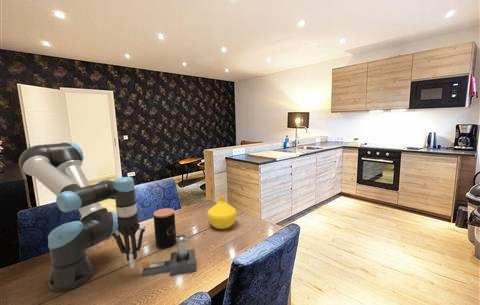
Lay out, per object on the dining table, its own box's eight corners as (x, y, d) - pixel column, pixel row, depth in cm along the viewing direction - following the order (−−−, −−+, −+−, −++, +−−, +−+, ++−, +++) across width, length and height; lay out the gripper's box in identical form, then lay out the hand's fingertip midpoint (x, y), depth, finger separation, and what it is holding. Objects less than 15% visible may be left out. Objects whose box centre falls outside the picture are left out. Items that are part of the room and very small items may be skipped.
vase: (221, 216, 154) (220, 189, 151) (242, 223, 143) (242, 194, 140) (201, 227, 139) (200, 197, 136) (224, 235, 128) (223, 203, 126)
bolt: (140, 274, 97) (139, 262, 97) (141, 270, 100) (140, 259, 99) (164, 270, 100) (164, 259, 99) (165, 266, 102) (164, 255, 101)
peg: (177, 270, 100) (175, 240, 98) (177, 263, 104) (175, 235, 103) (188, 268, 101) (187, 238, 99) (188, 261, 106) (187, 233, 104)
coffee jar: (170, 249, 115) (168, 216, 113) (151, 248, 118) (149, 215, 115) (179, 239, 126) (177, 208, 123) (162, 237, 128) (160, 207, 125)
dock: (141, 280, 93) (140, 272, 93) (145, 264, 104) (144, 256, 103) (196, 271, 99) (195, 262, 98) (195, 256, 109) (194, 248, 109)
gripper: (107, 220, 89) (113, 274, 92) (142, 215, 91) (147, 268, 95) (113, 212, 96) (119, 263, 99) (145, 209, 99) (150, 258, 102)
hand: (132, 266), depth 97 cm, fingers closed
